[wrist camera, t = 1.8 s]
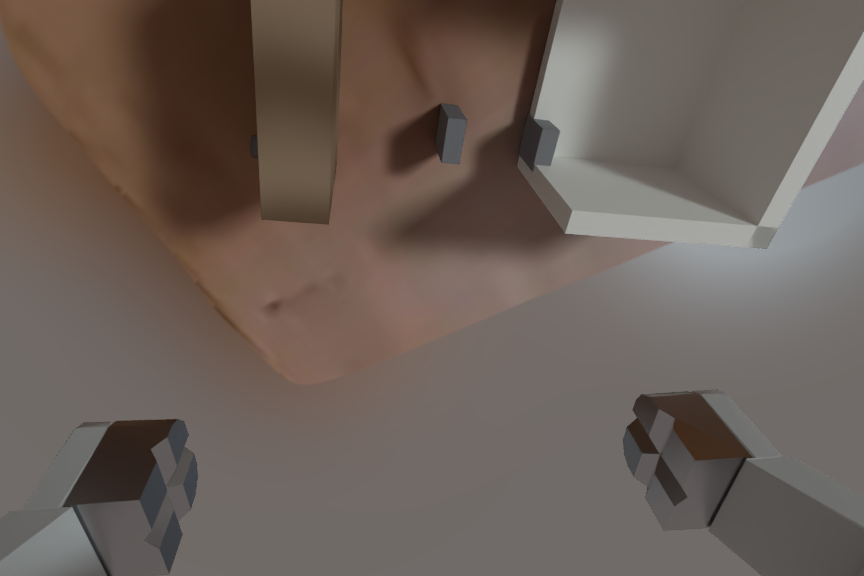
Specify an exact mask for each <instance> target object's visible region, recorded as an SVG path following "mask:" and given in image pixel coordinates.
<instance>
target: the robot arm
mask: <svg viewBox="0 0 864 576" xmlns="http://www.w3.org/2000/svg"><path fill="white" fill-rule="evenodd" d="M633 411H634V413H635V415H636V417H637V418H636V419H635V420H634V421H633V422H632V423H631V424H630V425H628V426H627V428H626V432H625V435H624V438H623V446H624V456H625V459H626V462H627V465H628V467H629V469H630V471H631V473H632V474H633V476H634V478H636V479H637V480H639V481H640V482H641V483H643V484H645V485H646V486H647V492H646V496H645V498H646V500H647V502H648V504H649V505H650V507H651V509H652V511H653V513H654V514H655V516H656V518H657V520H658V522H659V523H660V525H661V527H662V529H663V530H664V531H666V530H684V529H701V528H709V531H710V532H711V533H712V534H713V535H714V536H715V537H717V538H718V539H719V540H720V541H721V542H723V543H724V544H725V545H726V546H727V547H728V548H730V549H731V550H732V551H733V552H734V553H736V554H737V555H738V556H739V557H740V558H742V559H743V560H744V561H745V562H746V563H747V564H749V565H750V566H751V567H752V568H753V569H754V570H756V571H757V572H758V573H759V574H760V575H762V576H864V496H863V495H861V494H859V493H858V492H856V491H854V490H852V489H850V488H848V487H846V486H844V485H843V484H841V483H839V482H837V481H836V480H834V479H832V478H830V477H828V476H826V475H825V474H823V473H821V472H819V471H817V470H815V469H814V468H812V467H810V466H808V465H806V464H804V463H802V462H800V461H799V460H797V459H795V458H793V457H792V456H782V455H781V454H780V453H779V452H778V451H777V450H776V449H775V448H774V446H773V445H772V444H771V443H770V442H769V441H768V440H767V439H766V438H765V437H764V435H763V434H762V433H761V432H760V431H759V430H758V429H757V428H756V426H755V425H754V424H753V423H752V422H751V421H750V420H749V419H748V418H747V416H746V415H745V414H744V413H743V412H742V411H741V410H740V409H739V408H738V407H737V405H736V404H735V403H734V402H733V401H732V400H731V399H730V398H729V396H728V395H727V394H725V393H724V392H722V391H720V390H718V389H716V390H700V391H691V392H688V391H686V392H670V393H655V394H641V395H640V396H639V397H638V398H637V399H636V401H635V404H634V407H633ZM188 435H189V434H188V431H187V428H186V425H185V422H184V421H182V420H180V419H167V420H132V421H116V422H86V423H83V424H81V425H80V426H79V427H77V428H75V429H74V431H73V432H72V434H71V435H70V437H69V438H68V440H67V441H66V443H65V444H64V446H63V447H62V449H61V450H60V452H59V453H58V455H57V456H56V458H55V459H54V461H53V462H52V464H51V465H50V467H49V468H48V470H47V471H46V473H45V474H44V476H43V477H42V479H41V480H40V482H39V483H38V485H37V487H36V488H35V489H34V491H33V492H32V494H31V495H30V497H29V499H28V500H27V502H26V503H25V505H24V506H23V508H22V509H21V510H18V511H9V512H8V513H7V514H5V515H4V516H2V517H1V518H0V576H158V575H167V574H169V573H170V570H171V567H172V564H173V562H174V559H175V556H176V552H177V550H178V546H179V544H180V540H181V537H182V531H181V529H180V525H179V522H178V521H179V520H180V519H181V518H182V517H183V516H184V515H186V514H187V513H188V512H189V511H190V510H191V508H192V504H193V501H194V498H195V495H196V487H197V480H198V471H197V462H196V458H195V455H194V453H193V452H191V451H190V450H188V449H187V448H186V447H185V443H186V441H187V438H188Z"/></svg>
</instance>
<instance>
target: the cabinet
mask: <svg viewBox="0 0 864 576" xmlns="http://www.w3.org/2000/svg"><path fill="white" fill-rule="evenodd" d="M863 79H864V0H556V5H555V9H554V13H553V17H552V21H551V26H550V30H549V34H548V38H547V42H546V46H545V51H544V55H543V59H542V63H541V67H540V71H539V76H538V80H537V84H536V88H535V92H534V97H533V101H532V105H531V109H530V113H529V114H528V115H527V119H526V123H525V127H524V132H523V136H522V140H521V144H520V148H519V153H518V154H519V159H518V163H517V167H518V169H519V170H520V172H521V173H522V174H523V176H524V177H525V179H526V180H527V181H528V183H529V184H530V185H531V187H532V188H533V190H534V191H535V192H536V194H537V195H538V197H539V198H540V199H541V201H542V202H543V204H544V205H545V206H546V208H547V209H548V210H549V212H550V213H551V215H552V216H553V217H554V219H555V220H556V222H557V223H558V224H559V226H560V227H561V228H562V230H563V231H564V233H565V234H577V235H591V236H604V237H617V238H630V239H643V240H656V241H670V242H684V243H697V244H709V245H723V246H736V247H748V248H762V249H767V247H768V246H769V243H770V242H771V240H772V239H773V237H774V235H775V233H776V232H777V230H778V228H779V226H780V225H781V223H782V221H783V219H784V217H785V216H786V214H787V212H788V210H789V209H790V207H791V205H792V204H793V202H794V200H795V198H796V197H797V195H798V193H799V191H800V190H801V188H802V186H803V184H804V183H805V181H806V179H807V177H808V176H809V174H810V172H811V170H812V169H813V167H814V165H815V163H816V162H817V160H818V158H819V156H820V155H821V153H822V151H823V149H824V148H825V146H826V144H827V142H828V141H829V139H830V137H831V135H832V134H833V132H834V130H835V128H836V127H837V125H838V123H839V121H840V120H841V118H842V116H843V114H844V113H845V111H846V109H847V107H848V106H849V104H850V102H851V100H852V99H853V97H854V95H855V93H856V92H857V90H858V88H859V86H860V85H861V83H862V81H863ZM466 123H467V119H466V118H465V116H464V114H463V113H462V111H461V110H460V108H459V106H457V105H448V104H441V106H440V113H439V120H438V127H437V134H436V141H435V147H436V149H437V152H438V155H439V157H440V160H441V163H451V164H460V158H461V152H462V146H463V141H464V135H465V129H466Z"/></svg>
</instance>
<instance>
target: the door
mask: <svg viewBox="0 0 864 576" xmlns="http://www.w3.org/2000/svg"><path fill="white" fill-rule="evenodd" d="M342 7H343V0H251V18H252V38H253V58H254V78H255V99H256V119H257V136H256V135H252V137H251V145H250V149H251V156H252V157H254V158H258V160H259V180H260V200H261V219H262V220H275V221H288V222H302V223H315V224H328V225H329V218H330V210H331V203H332V195H333V188H334V180H335V173H336V165H337V140H338V113H339V87H340V60H341V33H342Z"/></svg>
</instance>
